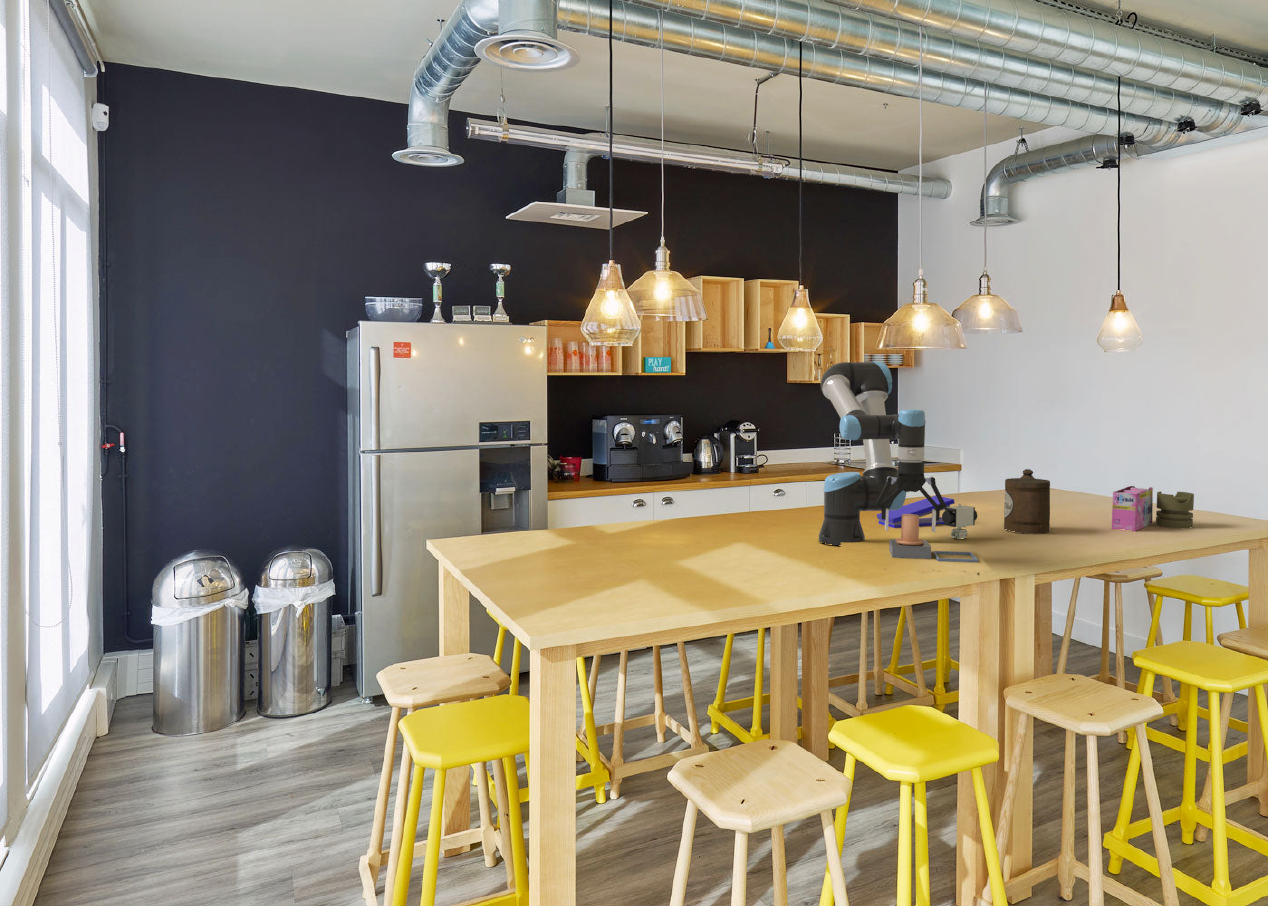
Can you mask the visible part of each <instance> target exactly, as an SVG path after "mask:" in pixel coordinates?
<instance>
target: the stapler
mask: <svg viewBox="0 0 1268 906" xmlns="http://www.w3.org/2000/svg"><path fill="white" fill-rule="evenodd" d="M930 497H931V498H932V499H933V500H934V501H935V502H936V504H937V505H940V503H939V501H938V499H937V497H936V495H933V496H930ZM942 498H943V500H944V502H945V504H946V507H951V505H953V504H955V503H956V502H955V499H954V498H949V497H946V496H942ZM932 509H935V508H934V506H933V505H932V504H931V503H930V502H929V501H928V500H927V498H924V499H921V500H917V501H914V502H911V503H908V504H905V505H903V506H902V507H901V508H900V509H899V510H892V511H889V514H888V528H889V527H890V528H893V529H898V528H901V522H902V514H916V515H919V527H926V526H927V527H928V526H932V517H925V516H929V515H931V514H932ZM944 510H945V508H943V509H941V510H940V512H941V511H944ZM876 519H878V524H879V525H881V524H882V526H885V520H884V519H882V517H881V512H880V513H877V514H876ZM937 524H942V525H944V524H945V523H944V522H943V520H942V516H940V519H939V521H936V526H937Z"/></svg>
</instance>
